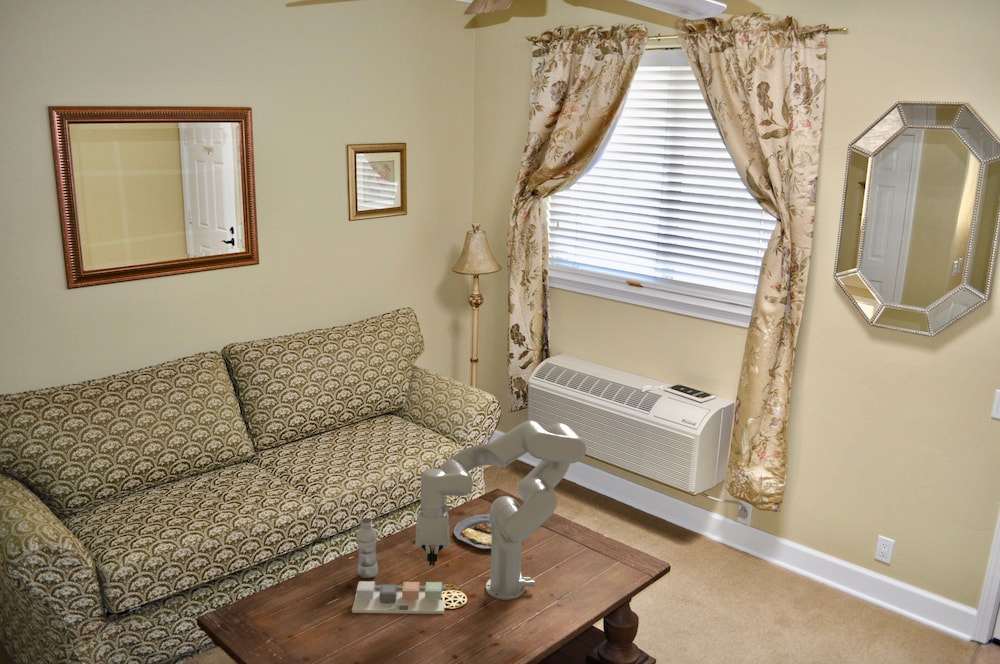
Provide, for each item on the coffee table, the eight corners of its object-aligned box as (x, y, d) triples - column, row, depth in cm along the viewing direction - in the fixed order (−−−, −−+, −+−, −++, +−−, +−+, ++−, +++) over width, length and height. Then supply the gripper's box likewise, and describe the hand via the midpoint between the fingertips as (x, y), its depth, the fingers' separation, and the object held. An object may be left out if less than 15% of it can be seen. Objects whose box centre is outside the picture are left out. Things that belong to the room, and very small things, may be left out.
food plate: (536, 533, 303) (536, 524, 302) (496, 560, 285) (496, 551, 284) (483, 513, 318) (483, 505, 317) (442, 538, 300) (442, 529, 299)
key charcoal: (397, 592, 263) (397, 584, 262) (395, 602, 258) (395, 593, 257) (381, 592, 263) (381, 584, 262) (379, 602, 258) (379, 593, 257)
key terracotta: (419, 590, 263) (419, 581, 262) (418, 599, 258) (418, 590, 257) (403, 590, 263) (403, 581, 262) (402, 599, 258) (402, 590, 257)
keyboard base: (445, 591, 267) (445, 585, 266) (443, 613, 255) (443, 608, 255) (357, 590, 266) (357, 584, 266) (351, 612, 255) (351, 607, 254)
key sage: (442, 590, 263) (442, 581, 262) (441, 599, 258) (441, 591, 257) (426, 590, 263) (426, 581, 262) (425, 599, 258) (425, 590, 257)
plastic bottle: (374, 582, 271) (373, 526, 265) (354, 579, 272) (352, 524, 267) (381, 571, 277) (379, 517, 272) (361, 568, 278) (360, 514, 273)
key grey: (375, 589, 263) (374, 581, 262) (373, 599, 258) (372, 590, 257) (359, 589, 262) (358, 581, 262) (356, 598, 258) (356, 590, 257)
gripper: (458, 504, 256) (457, 557, 261) (409, 502, 256) (409, 556, 261) (457, 515, 249) (456, 570, 254) (406, 514, 248) (406, 569, 253)
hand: (432, 563), depth 257 cm, fingers closed
